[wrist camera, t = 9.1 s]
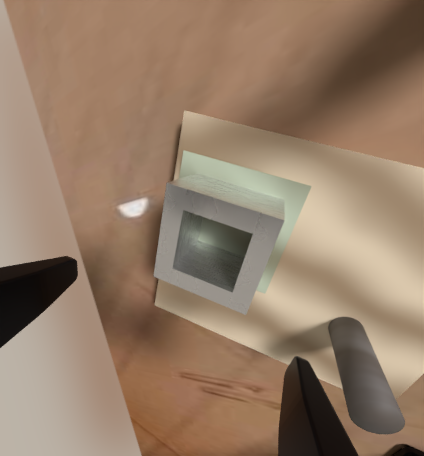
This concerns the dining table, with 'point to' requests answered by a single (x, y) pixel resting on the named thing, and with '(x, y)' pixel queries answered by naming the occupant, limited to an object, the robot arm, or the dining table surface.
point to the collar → (210, 255)
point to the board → (320, 262)
